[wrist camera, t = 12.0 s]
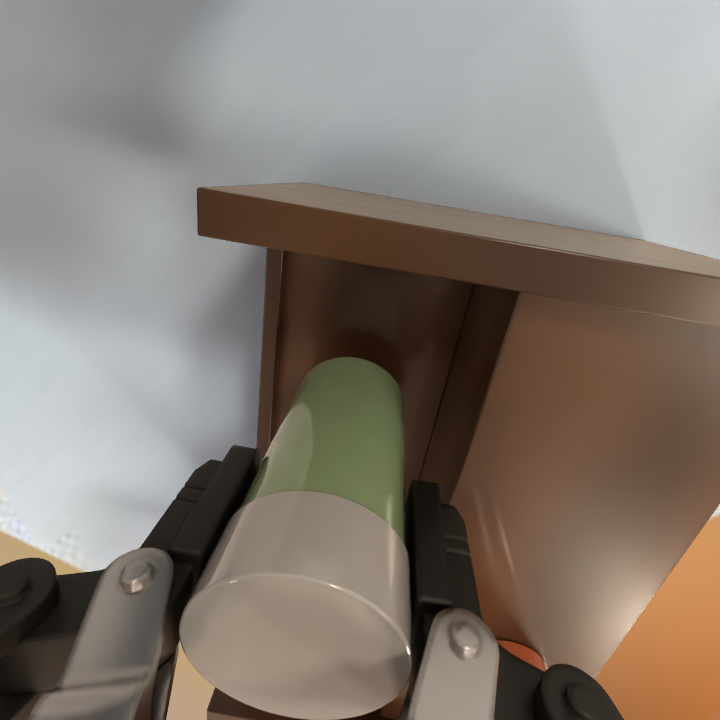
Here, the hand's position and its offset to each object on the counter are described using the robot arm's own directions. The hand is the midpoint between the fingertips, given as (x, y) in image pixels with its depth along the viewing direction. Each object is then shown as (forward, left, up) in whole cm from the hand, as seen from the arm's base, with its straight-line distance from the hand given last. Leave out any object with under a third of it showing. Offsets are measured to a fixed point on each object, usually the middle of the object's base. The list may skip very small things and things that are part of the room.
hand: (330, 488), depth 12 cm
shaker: (0, 0, -4) cm, 4 cm away
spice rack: (+4, -3, -10) cm, 11 cm away
